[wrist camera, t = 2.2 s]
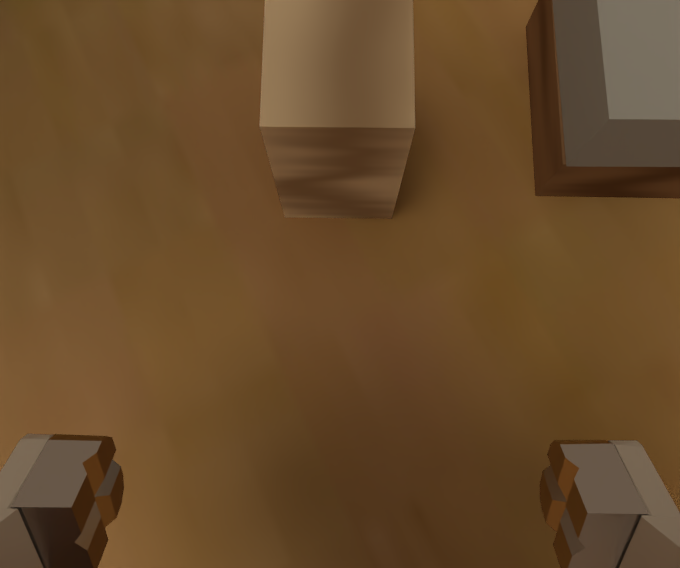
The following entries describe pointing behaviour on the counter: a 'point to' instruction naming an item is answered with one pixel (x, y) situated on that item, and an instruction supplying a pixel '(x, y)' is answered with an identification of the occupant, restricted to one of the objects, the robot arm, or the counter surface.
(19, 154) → the counter surface
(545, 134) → the walnut block
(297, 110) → the oak pillar
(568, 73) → the slate block
